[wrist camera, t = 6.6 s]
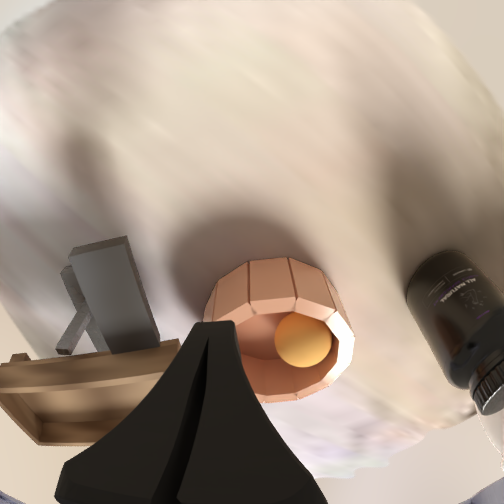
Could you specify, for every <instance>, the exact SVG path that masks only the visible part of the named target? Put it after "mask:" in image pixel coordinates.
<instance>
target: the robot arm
mask: <svg viewBox="0 0 504 504" xmlns="http://www.w3.org/2000/svg"><path fill="white" fill-rule="evenodd" d="M54 497H55V499H56V500H57V501H58V502H59V503H60V504H328V502H327V500H326V498H325V497H324V495H323V493H322V491H321V490H320V488H319V486H318V485H317V483H316V481H315V480H314V478H313V476H312V474H311V473H310V472H309V471H308V470H307V469H306V468H305V466H304V465H303V464H302V463H301V462H300V461H299V459H298V458H297V457H296V456H295V455H294V453H293V452H292V451H291V450H290V448H289V447H288V446H287V444H286V443H285V442H284V440H283V439H282V438H281V436H280V435H279V433H278V432H277V430H276V429H275V427H274V426H273V424H272V423H271V421H270V420H269V418H268V417H267V415H266V413H265V411H264V410H263V408H262V406H261V404H260V403H259V401H258V399H257V397H256V395H255V393H254V391H253V389H252V387H251V385H250V382H249V380H248V378H247V375H246V373H245V370H244V368H243V365H242V357H241V352H240V347H239V342H238V337H237V332H236V327H235V322H233V321H232V320H224V321H211V322H197V323H195V325H194V326H193V328H192V329H191V331H190V333H189V335H188V336H187V338H186V340H185V341H184V343H183V345H182V346H181V348H180V349H179V351H178V353H177V354H176V356H175V357H174V359H173V360H172V362H171V363H170V365H169V366H168V368H167V369H166V371H165V372H164V373H163V375H162V376H161V377H160V379H159V380H158V381H157V383H156V384H155V385H154V387H153V388H152V389H151V390H150V392H149V393H148V394H147V395H146V396H145V397H144V399H143V400H142V401H141V402H140V403H139V404H138V405H137V406H136V407H135V408H134V409H133V410H132V411H131V412H130V413H129V414H128V415H127V416H126V417H125V418H124V419H123V420H122V421H121V422H120V423H119V424H118V425H117V426H116V427H115V428H113V429H112V430H111V431H110V432H108V433H107V434H106V435H105V436H103V437H102V438H101V439H100V440H98V441H97V442H96V443H94V444H93V445H92V446H90V447H89V448H87V449H86V450H84V451H83V452H81V453H79V454H78V455H76V456H75V457H73V458H71V459H70V460H68V461H66V462H65V463H64V465H63V468H62V471H61V474H60V477H59V481H58V484H57V488H56V491H55V495H54ZM0 504H25V503H23V502H21V501H19V500H16V499H15V498H13V497H11V496H9V495H7V494H5V493H3V492H1V491H0ZM459 504H504V477H503V478H501V479H499V480H498V481H496V482H494V483H492V484H490V485H489V486H487V487H485V488H484V489H482V490H480V491H479V492H478V493H476V494H475V495H473V497H472V498H470V499H468V500H466V501H464V502H462V503H459Z"/></svg>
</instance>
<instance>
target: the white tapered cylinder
mask: <svg viewBox="0 0 504 504" xmlns="http://www.w3.org/2000/svg"><path fill="white" fill-rule="evenodd" d="M475 406H476V410H477V414H478V417H479V419H480V422H481V424H482V427H483V429H484V431H485V433H486V434H487V436H488V438H489V440H490V441H491V443H492V444H493V446H494V447H495V448H496V449H497V450H498V452H499V453H500V454H501V455H502V457H503V459H502V462H501V468H502V470H503V472H504V409H502V410H501V411H498V412H497V413H494V414H492V415H488V416H484V415H481V413H480V411H479V409H478V407H477V405H476V403H475Z"/></svg>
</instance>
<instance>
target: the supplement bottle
mask: <svg viewBox="0 0 504 504" xmlns="http://www.w3.org/2000/svg"><path fill="white" fill-rule="evenodd" d="M407 305H408V308H409V310H410V312H411V314H412V316H413V318H414V319H415V321H416V323H417V325H418V326H419V328H420V330H421V332H422V334H423V335H424V337H425V339H426V341H427V343H428V345H429V346H430V348H431V350H432V352H433V354H434V356H435V358H436V360H437V361H438V363H439V365H440V367H441V369H442V371H443V373H444V375H445V377H446V379H447V380H448V382H449V383H450V384H451V385H452V386H454V387H456V388H458V389H462V390H470V395H471V397H472V399H473V401H475V403H476V405H477V407H478V409H479V411H480V413H481V415H484V416H488V415H492V414H494V413H497V412H498V411H501V410H502V409H504V294H503V293H502V292H501V291H500V290H499V288H498V287H497V286H496V285H495V284H494V283H493V282H492V281H491V280H490V279H489V278H488V277H487V275H486V274H485V273H484V272H483V271H482V270H481V269H480V268H479V267H478V266H477V265H476V264H475V263H474V262H473V261H472V260H471V259H470V258H469V257H468V256H466V255H465V254H463V253H461V252H459V251H445V252H441V253H438V254H436V255H434V256H432V257H431V258H429V259H428V260H427V261H426V262H424V263H423V264H422V265H421V266H420V267H419V269H418V270H417V271H416V273H415V274H414V276H413V277H412V279H411V281H410V284H409V287H408V291H407Z"/></svg>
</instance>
